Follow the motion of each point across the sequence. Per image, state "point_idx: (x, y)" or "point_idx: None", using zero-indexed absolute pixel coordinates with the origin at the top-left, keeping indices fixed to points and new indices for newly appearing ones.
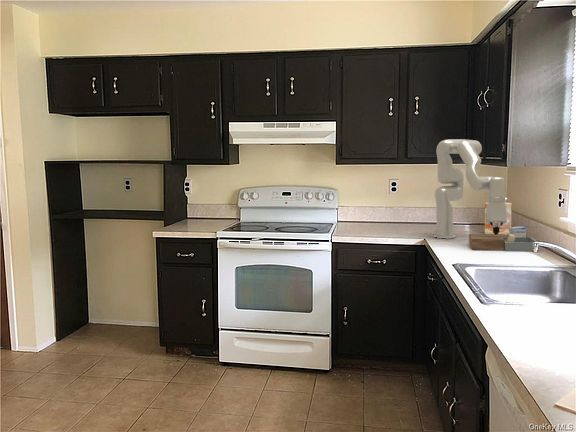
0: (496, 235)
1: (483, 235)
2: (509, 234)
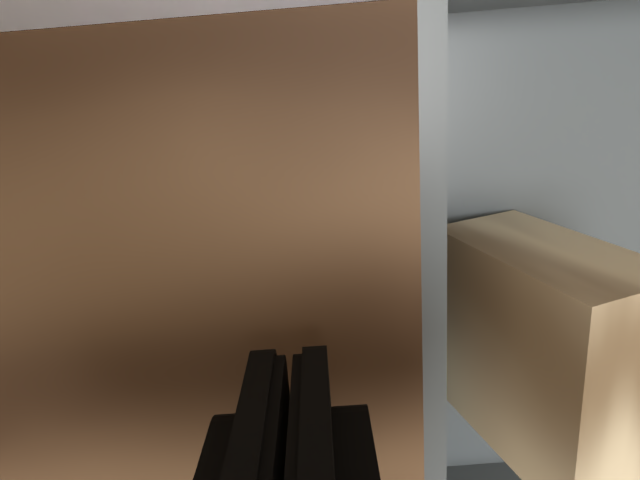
0: (318, 183)
1: (16, 227)
2: (587, 447)
